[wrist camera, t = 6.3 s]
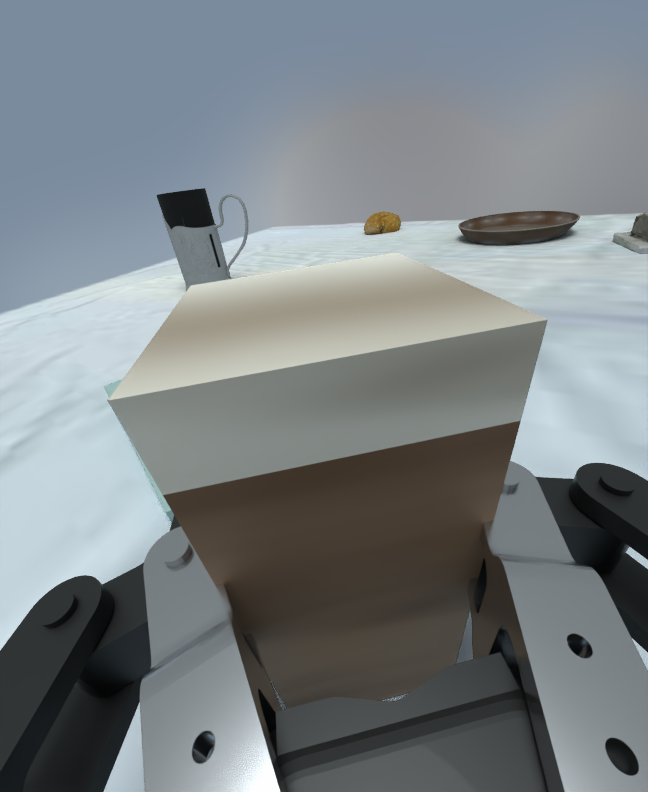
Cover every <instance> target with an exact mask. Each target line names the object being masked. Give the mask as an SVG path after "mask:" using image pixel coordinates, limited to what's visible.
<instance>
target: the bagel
mask: <svg viewBox="0 0 648 792" xmlns="http://www.w3.org/2000/svg"><path fill="white" fill-rule="evenodd" d="M400 226H401V221H400V218H399V216H398V215H395V214H393V213H389V212H379V213H375V214H373V215H371V216H370V218H369V219H368V220H367V222H366V224H365V226H364V231H365V233H366V234H367V235H371V234H380V233H389V232H395V231H398V229H399V228H400Z"/></svg>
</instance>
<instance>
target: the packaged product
mask: <svg viewBox="0 0 648 792" xmlns="http://www.w3.org/2000/svg"><path fill="white" fill-rule="evenodd" d="M613 242H615V243H617V244H619V245H622V246H623V247H626V248H628V249H631V250H633V251H634V252H637V253H640V254H648V212H645V213H643V214H640V215H639V216H637V217H636V219H635V222H634V225H633V229H632V231H631V232H627V233H615V234H614V238H613Z"/></svg>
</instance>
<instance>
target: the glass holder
mask: <svg viewBox="0 0 648 792" xmlns="http://www.w3.org/2000/svg"><path fill="white" fill-rule="evenodd" d="M227 197H234V198H236V199H238V200H239V202H240V203H241V204H242V207H243V210H244V214H245V225H246V226H245V235H244V239H243V243H242V245H241V247H240V249H239V250H238V252H237V253H236V255H235V256H234V257H233V259H232V260H231V262H230V263H229V265H228V266H227V264H226V260H225V256H224V253H223V249H222V245H221V242H220V238H219V234H218V231H217V228H218V227H221V226H222V225H223V223H224V219H223V214H222V204H223V201H224V200H225V199H226V198H227ZM157 198H158V201H159V204H160V207H161V210H162V213H163V219H164V222H165V225H166V228H167V231H168V234H169V237H170V239H171V242H172V245H173V248H174V251H175V254H176V257H177V260H178V263H179V266H180V268H181V271H182V274H183V277H184V280H185V283H186V291H187V290H188V289H189V287H190V286H191V285H197V284H203V283H210V282H216V281H222V280H228V279H231V277H230V273H229V268H230V266H231V265H232V263H233V262H234V261H235V259H236V258H237V256H238V255H239V254H240V252H241V250H242V249H243V247H244V246H245V244H246V240H247V234H248V217H247V211H246V208H245V205H244V203H243V201H242V200H241V199H240V198H239V197H237V196H235V195H232V194H229V195H225V196H224V197H222V199H221V200H220V203H219V214H220V218H221V223H220V225H216V224H215V223H214V220H213V216H212V213H211V209H210V205H209V201H208V198H207V194H206V190H205V189H195V190H187V191H179V192H173V193H166V194H160V195H157Z"/></svg>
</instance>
